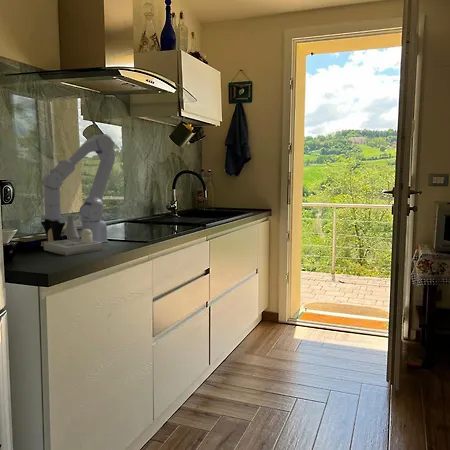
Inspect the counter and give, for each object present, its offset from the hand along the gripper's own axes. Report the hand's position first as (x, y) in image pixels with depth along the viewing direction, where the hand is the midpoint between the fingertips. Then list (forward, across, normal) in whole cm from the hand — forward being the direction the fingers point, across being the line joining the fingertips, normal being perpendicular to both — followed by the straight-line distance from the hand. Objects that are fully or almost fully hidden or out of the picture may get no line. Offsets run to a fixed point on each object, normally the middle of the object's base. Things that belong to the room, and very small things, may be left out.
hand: (53, 239), depth 176 cm
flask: (+3, -12, +15) cm, 19 cm away
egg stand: (+2, 0, 0) cm, 2 cm away
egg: (+2, 0, 0) cm, 2 cm away
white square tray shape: (+2, +13, 0) cm, 13 cm away
